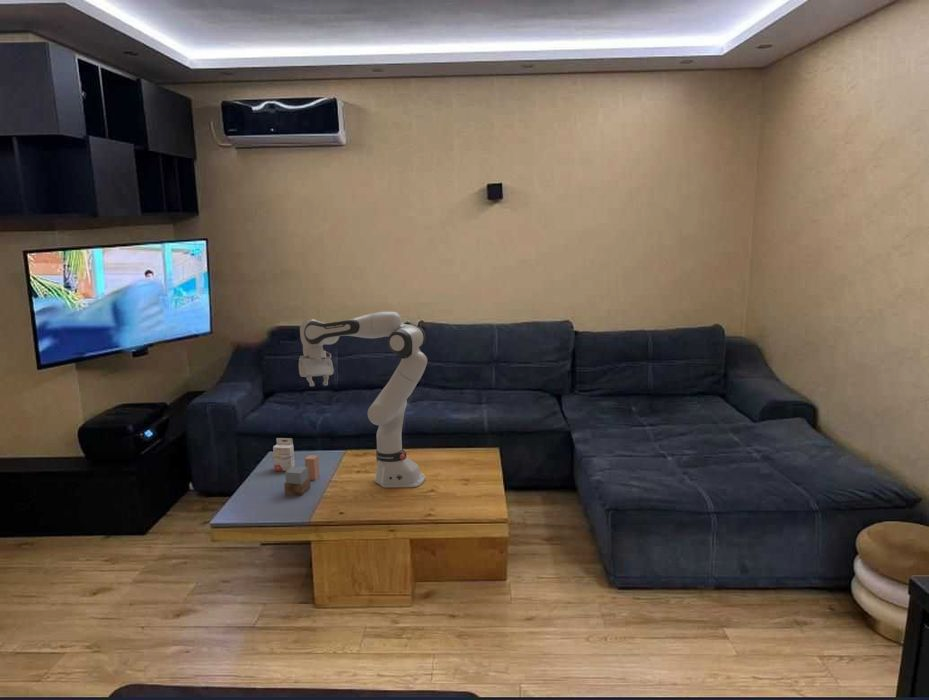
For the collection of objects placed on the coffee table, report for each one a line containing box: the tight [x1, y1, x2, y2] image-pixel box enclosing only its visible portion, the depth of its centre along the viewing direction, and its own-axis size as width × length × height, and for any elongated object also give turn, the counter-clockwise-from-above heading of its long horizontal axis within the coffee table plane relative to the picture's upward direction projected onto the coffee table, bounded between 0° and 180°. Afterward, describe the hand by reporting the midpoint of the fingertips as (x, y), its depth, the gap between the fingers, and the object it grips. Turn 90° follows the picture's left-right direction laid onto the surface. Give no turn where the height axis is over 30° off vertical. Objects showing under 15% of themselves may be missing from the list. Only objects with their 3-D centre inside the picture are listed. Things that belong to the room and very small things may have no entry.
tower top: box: [284, 465, 308, 484], centre depth 289 cm, size 7×7×5 cm
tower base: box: [283, 478, 311, 496], centre depth 290 cm, size 8×8×5 cm
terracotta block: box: [304, 454, 320, 481], centre depth 304 cm, size 4×4×10 cm
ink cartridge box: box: [272, 437, 296, 472], centre depth 315 cm, size 9×5×15 cm, turn 84°
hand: (319, 385), depth 300 cm, fingers open, 8 cm apart
